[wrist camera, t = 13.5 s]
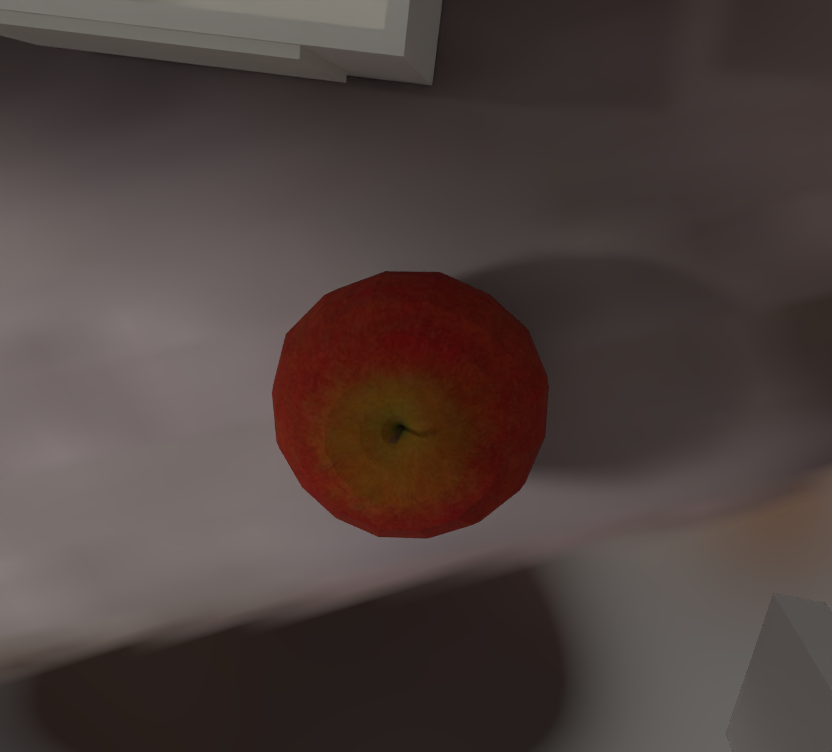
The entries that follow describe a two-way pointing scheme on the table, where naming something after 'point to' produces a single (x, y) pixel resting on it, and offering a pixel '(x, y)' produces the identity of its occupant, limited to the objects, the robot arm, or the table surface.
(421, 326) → the apple
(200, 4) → the carton
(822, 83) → the table surface
